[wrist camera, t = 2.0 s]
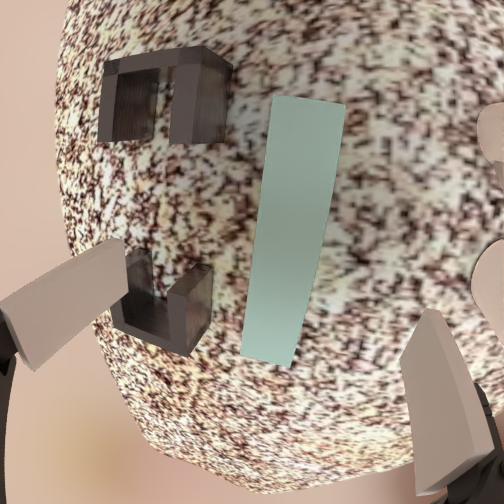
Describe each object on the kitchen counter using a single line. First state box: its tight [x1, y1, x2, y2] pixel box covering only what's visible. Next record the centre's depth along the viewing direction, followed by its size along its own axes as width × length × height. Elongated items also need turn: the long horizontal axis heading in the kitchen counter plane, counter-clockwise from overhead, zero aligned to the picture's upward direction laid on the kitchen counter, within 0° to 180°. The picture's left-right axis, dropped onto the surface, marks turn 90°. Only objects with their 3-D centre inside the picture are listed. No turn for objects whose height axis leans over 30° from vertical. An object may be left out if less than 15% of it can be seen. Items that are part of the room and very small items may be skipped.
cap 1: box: [97, 46, 233, 144], centre depth 16 cm, size 6×8×5 cm
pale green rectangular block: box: [240, 94, 346, 368], centre depth 17 cm, size 16×4×6 cm, turn 173°
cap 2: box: [110, 248, 214, 358], centre depth 23 cm, size 6×8×5 cm
